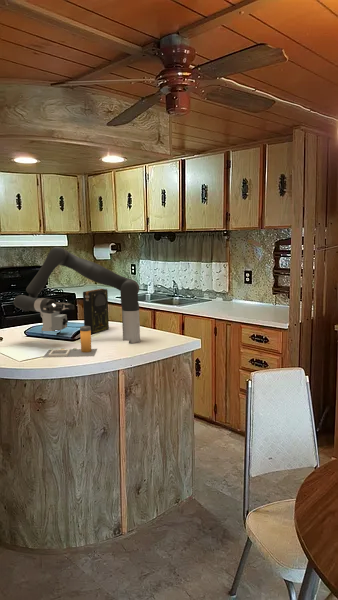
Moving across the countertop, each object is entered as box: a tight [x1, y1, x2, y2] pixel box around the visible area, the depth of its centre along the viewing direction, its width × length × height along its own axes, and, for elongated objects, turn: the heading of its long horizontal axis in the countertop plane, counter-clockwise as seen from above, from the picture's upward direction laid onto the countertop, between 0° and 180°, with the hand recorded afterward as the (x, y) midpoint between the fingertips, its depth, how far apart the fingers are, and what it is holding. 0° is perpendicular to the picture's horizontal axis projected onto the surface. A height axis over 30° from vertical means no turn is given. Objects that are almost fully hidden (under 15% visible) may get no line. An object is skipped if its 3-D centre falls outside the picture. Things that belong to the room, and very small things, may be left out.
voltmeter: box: [82, 288, 110, 335], centre depth 275 cm, size 16×9×25 cm, turn 148°
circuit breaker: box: [40, 311, 69, 332], centre depth 269 cm, size 8×14×15 cm, turn 79°
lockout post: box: [79, 325, 92, 352], centre depth 225 cm, size 5×5×12 cm
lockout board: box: [42, 347, 98, 359], centre depth 222 cm, size 24×14×3 cm, turn 92°
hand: (67, 308), depth 229 cm, fingers open, 8 cm apart
